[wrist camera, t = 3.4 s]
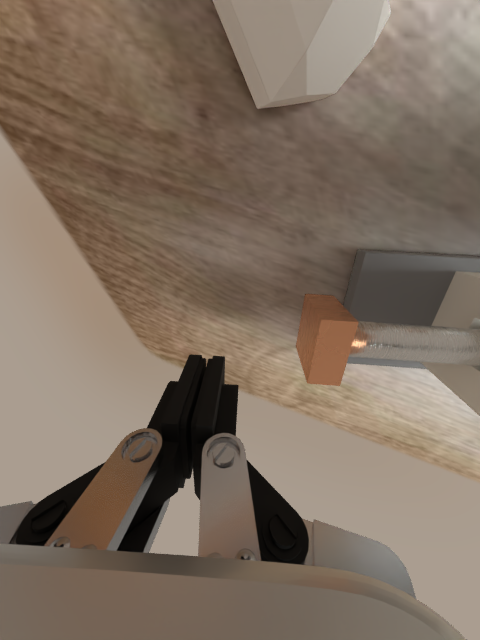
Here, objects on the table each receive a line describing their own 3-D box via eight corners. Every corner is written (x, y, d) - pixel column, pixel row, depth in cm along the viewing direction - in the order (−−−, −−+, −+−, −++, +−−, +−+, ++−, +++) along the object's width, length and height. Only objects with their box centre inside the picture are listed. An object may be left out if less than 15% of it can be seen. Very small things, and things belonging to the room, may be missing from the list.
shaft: (295, 346, 18) (307, 383, 14) (305, 293, 16) (321, 319, 12) (557, 364, 17) (647, 409, 13) (599, 312, 16) (716, 346, 12)
